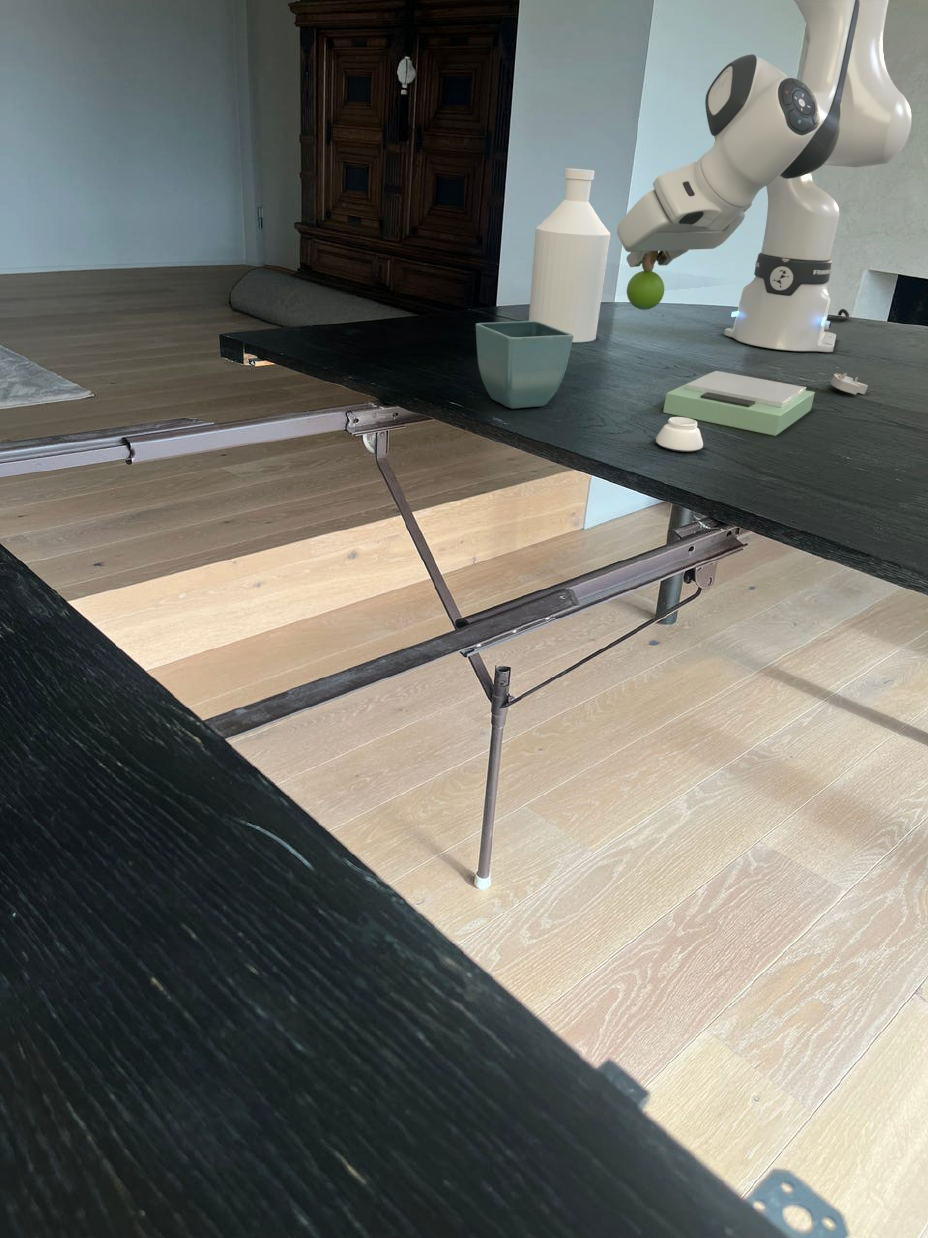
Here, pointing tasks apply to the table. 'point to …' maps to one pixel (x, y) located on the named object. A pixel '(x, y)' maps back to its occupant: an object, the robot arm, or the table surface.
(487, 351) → the flower pot
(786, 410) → the scale
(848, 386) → the game controller
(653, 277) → the snail figurine
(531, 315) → the bottle
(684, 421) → the lidless jar
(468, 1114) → the table surface
